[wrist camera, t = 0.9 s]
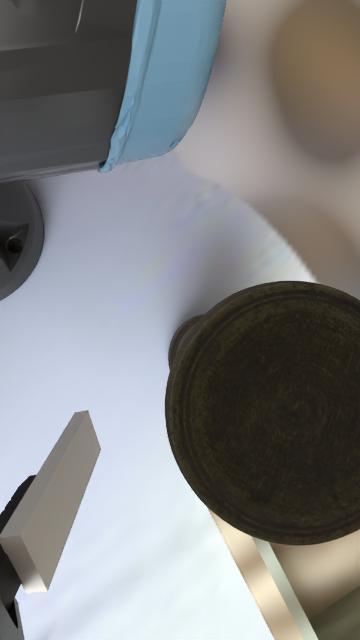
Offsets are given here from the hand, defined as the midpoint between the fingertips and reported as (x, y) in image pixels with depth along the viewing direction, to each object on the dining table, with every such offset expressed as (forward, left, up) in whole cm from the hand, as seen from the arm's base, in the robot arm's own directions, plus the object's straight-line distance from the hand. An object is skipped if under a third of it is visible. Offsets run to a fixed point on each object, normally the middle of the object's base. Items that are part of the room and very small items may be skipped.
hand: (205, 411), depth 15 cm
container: (0, +3, -11) cm, 12 cm away
